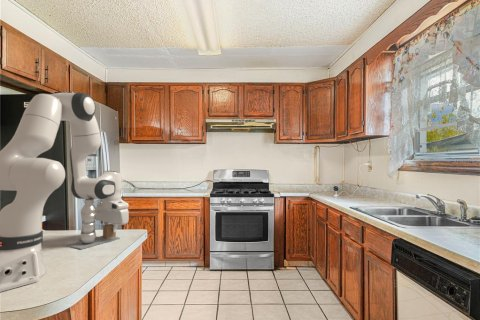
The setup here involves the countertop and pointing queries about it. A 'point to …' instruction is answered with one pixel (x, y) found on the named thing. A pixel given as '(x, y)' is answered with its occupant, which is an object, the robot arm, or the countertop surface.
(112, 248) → the countertop surface
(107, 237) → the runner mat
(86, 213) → the plastic bottle
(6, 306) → the countertop surface
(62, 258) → the countertop surface
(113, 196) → the robot arm
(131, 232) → the countertop surface
